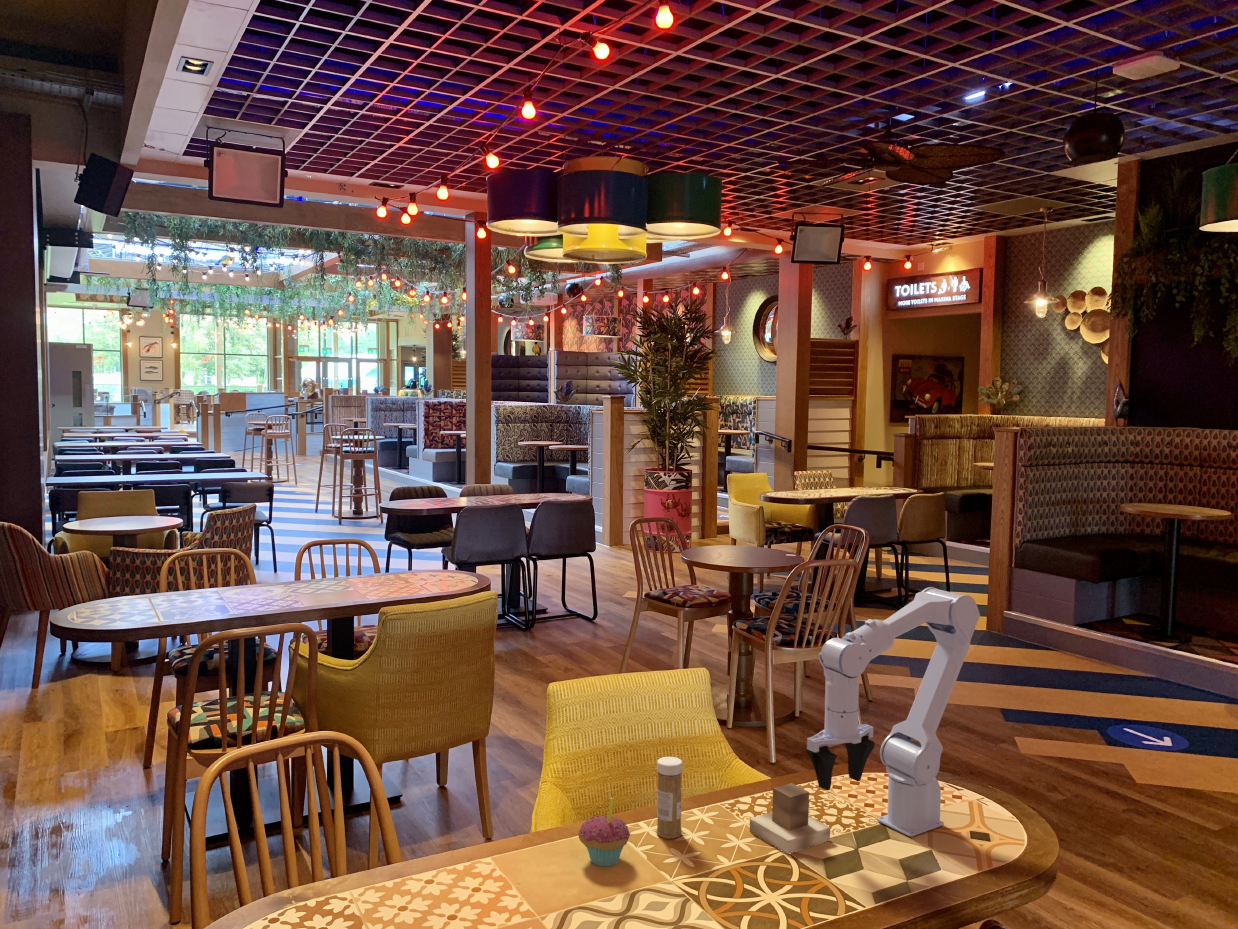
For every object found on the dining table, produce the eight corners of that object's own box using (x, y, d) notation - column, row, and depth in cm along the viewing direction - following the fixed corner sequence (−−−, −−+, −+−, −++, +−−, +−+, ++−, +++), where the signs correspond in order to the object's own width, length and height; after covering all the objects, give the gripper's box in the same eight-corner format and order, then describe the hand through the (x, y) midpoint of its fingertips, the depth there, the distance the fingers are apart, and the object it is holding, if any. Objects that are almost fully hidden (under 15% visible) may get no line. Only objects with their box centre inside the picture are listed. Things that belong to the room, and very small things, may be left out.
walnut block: (790, 815, 165) (791, 783, 165) (808, 825, 161) (809, 792, 161) (772, 820, 163) (773, 788, 162) (789, 830, 159) (790, 797, 159)
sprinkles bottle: (686, 836, 162) (687, 762, 161) (666, 842, 159) (667, 767, 159) (671, 826, 166) (672, 754, 165) (650, 832, 163) (652, 758, 162)
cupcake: (639, 860, 153) (640, 790, 152) (604, 878, 147) (605, 805, 146) (603, 843, 159) (603, 776, 158) (567, 860, 152) (568, 790, 152)
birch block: (790, 822, 169) (790, 806, 169) (829, 844, 161) (830, 827, 161) (749, 834, 164) (749, 818, 164) (787, 857, 155) (788, 840, 155)
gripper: (828, 721, 152) (827, 800, 153) (887, 707, 160) (885, 782, 161) (799, 709, 158) (797, 786, 159) (857, 696, 166) (855, 769, 166)
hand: (839, 783), depth 160 cm, fingers open, 7 cm apart
